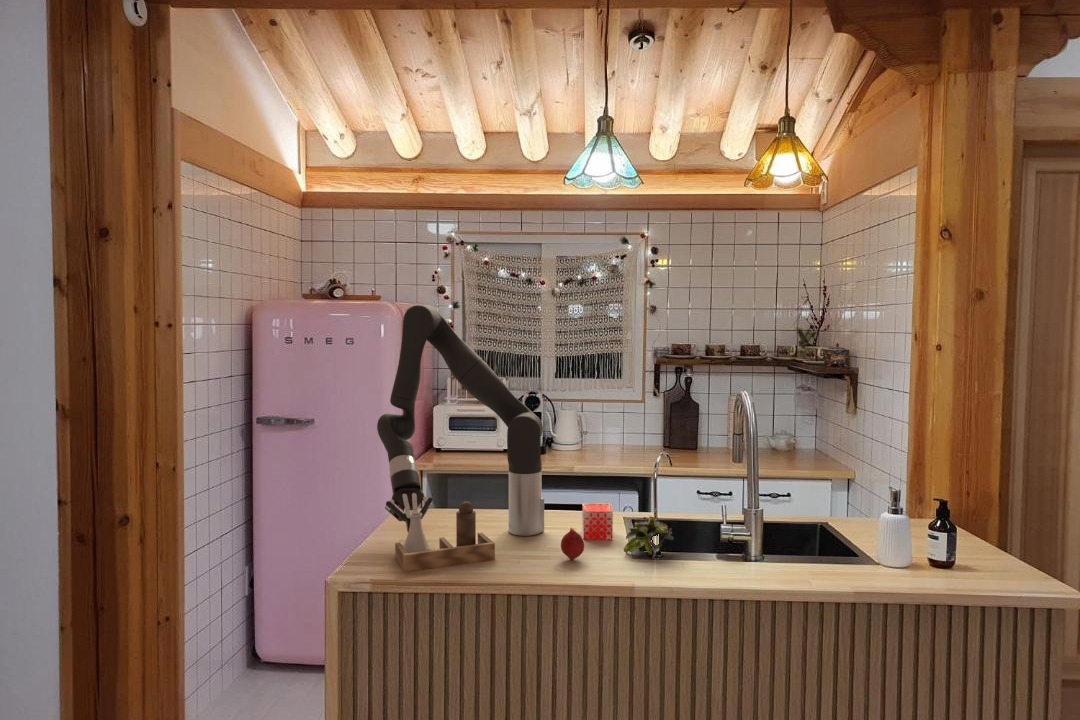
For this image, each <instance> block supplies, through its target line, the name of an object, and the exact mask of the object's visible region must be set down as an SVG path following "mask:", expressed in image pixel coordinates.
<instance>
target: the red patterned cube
mask: <svg viewBox="0 0 1080 720" xmlns="http://www.w3.org/2000/svg"><path fill="white" fill-rule="evenodd" d="M581 509H582V518H581V519H582V520H581V521H582V523H581V524H582V527H581V530H582V539H583V541H613V536H614V534H613V533H614V531H613V530H614V529H613V528H614V527H613V526H614V525H613V524H614V521H613V520H614V512H613V507H612V505H611V503H582V508H581Z"/></svg>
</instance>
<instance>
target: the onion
mask: <svg viewBox="0 0 1080 720" xmlns="http://www.w3.org/2000/svg"><path fill="white" fill-rule="evenodd" d="M584 541H585V540H583V536H581V535H580V533H579V532H577V531H576V530H575V529H574V528H573V527H570V529H569V531H567V533H566V534H564V535H563V537H562V539H561V542H560V550H561V552H562V553H563V554H564V555H565V556H566V557H567V558H568V559H569V560H571V561H574V560H575V559H576V558H579V557H580V556H581V555H582V554H583V553H584V550H585V542H584Z"/></svg>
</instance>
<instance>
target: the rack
mask: <svg viewBox="0 0 1080 720" xmlns="http://www.w3.org/2000/svg"><path fill="white" fill-rule="evenodd" d="M394 545H395V548H394V549H395V550H394V551H395V553H394V555H395V558H394V559H395V561H396V562H397V564H398V565H399V567H400V568H401V569H402V571H403V572H404V573H407V572H415V571H421V570H429V569H434V568H435V569H436V568H442V567H443V568H444V567H449V566H455V565H456V566H457V565H463V564H470V563H479V562H486V561H491V560H495V559H496V556H495V555H496V554H495V553H496V550H495V547H496V544H495V542H494V541H493V540H492V539H490V538H489V537H488V536H487V535H486V534H485V533H483V532H477V543H476V544H474V545H467V546H459V547H456V546H453V545H452V544H451V543H450V542H449V541H448V540H447V539H446V538H445V537H444V536H443V537H439V546H438V547H439V548H438V549H430V550H428V551H421V552H413V553H407V551H406V550H405V549H404V547H403V546H404V545H403V544H402V543H401V542H395V543H394Z"/></svg>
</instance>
